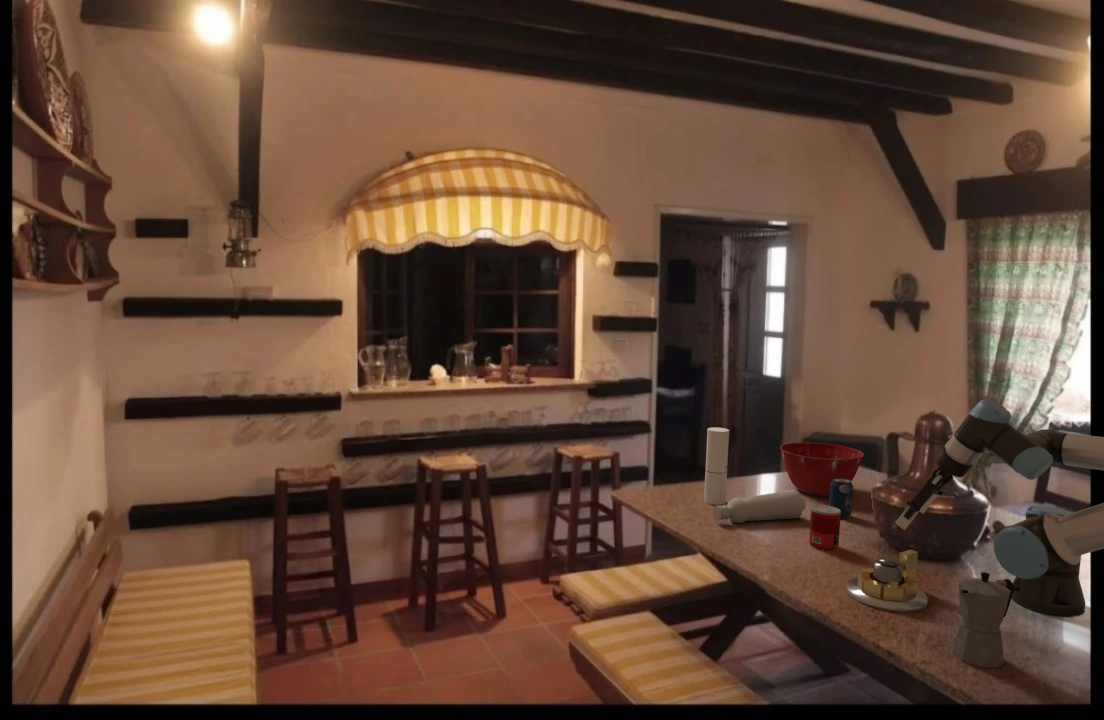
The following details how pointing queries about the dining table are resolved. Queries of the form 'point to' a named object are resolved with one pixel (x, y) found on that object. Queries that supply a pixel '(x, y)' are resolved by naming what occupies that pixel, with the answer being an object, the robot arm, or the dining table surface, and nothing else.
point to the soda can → (841, 496)
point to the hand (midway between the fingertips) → (909, 517)
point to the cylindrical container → (716, 466)
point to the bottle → (762, 507)
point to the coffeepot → (982, 620)
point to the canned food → (825, 527)
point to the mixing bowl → (819, 465)
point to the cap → (881, 573)
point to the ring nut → (892, 580)
